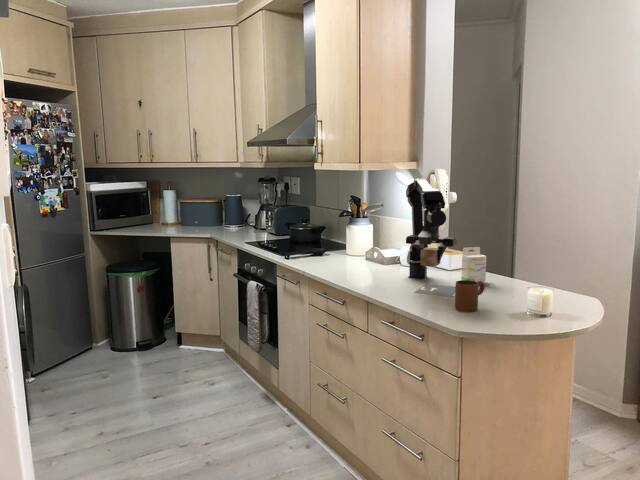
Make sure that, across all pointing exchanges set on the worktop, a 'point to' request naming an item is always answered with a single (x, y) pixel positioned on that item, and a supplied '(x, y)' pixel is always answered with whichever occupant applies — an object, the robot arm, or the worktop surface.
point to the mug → (467, 295)
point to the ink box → (473, 265)
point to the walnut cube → (429, 256)
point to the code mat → (437, 290)
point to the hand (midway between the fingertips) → (430, 262)
